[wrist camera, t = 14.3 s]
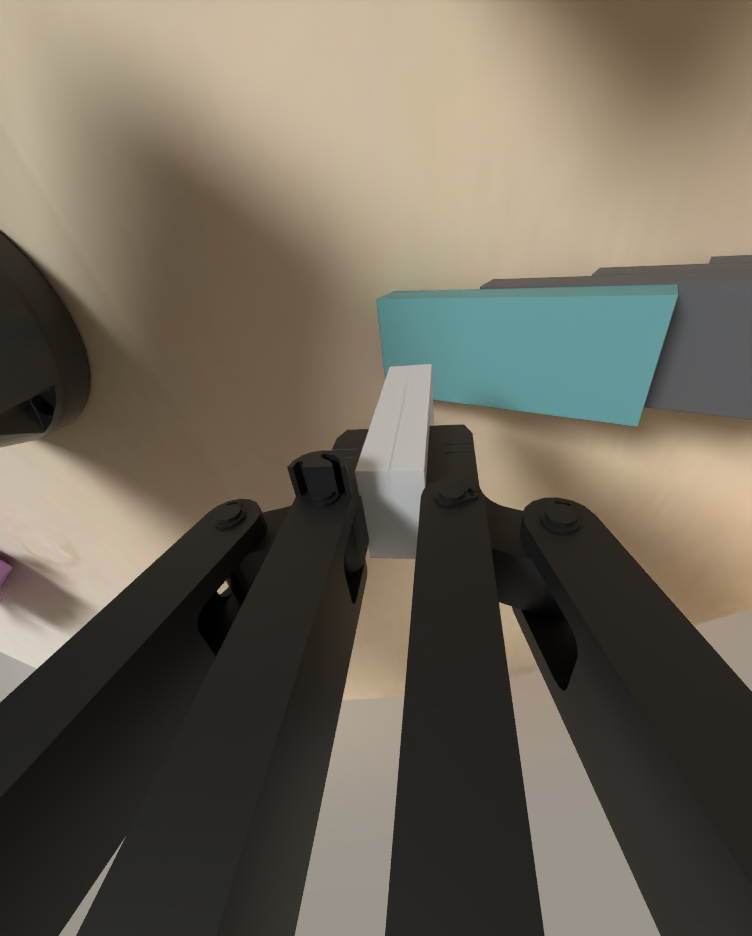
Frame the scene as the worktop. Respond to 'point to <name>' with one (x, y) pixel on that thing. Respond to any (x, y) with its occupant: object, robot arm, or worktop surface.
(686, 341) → the domino
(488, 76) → the worktop surface
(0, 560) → the teapot
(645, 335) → the domino
